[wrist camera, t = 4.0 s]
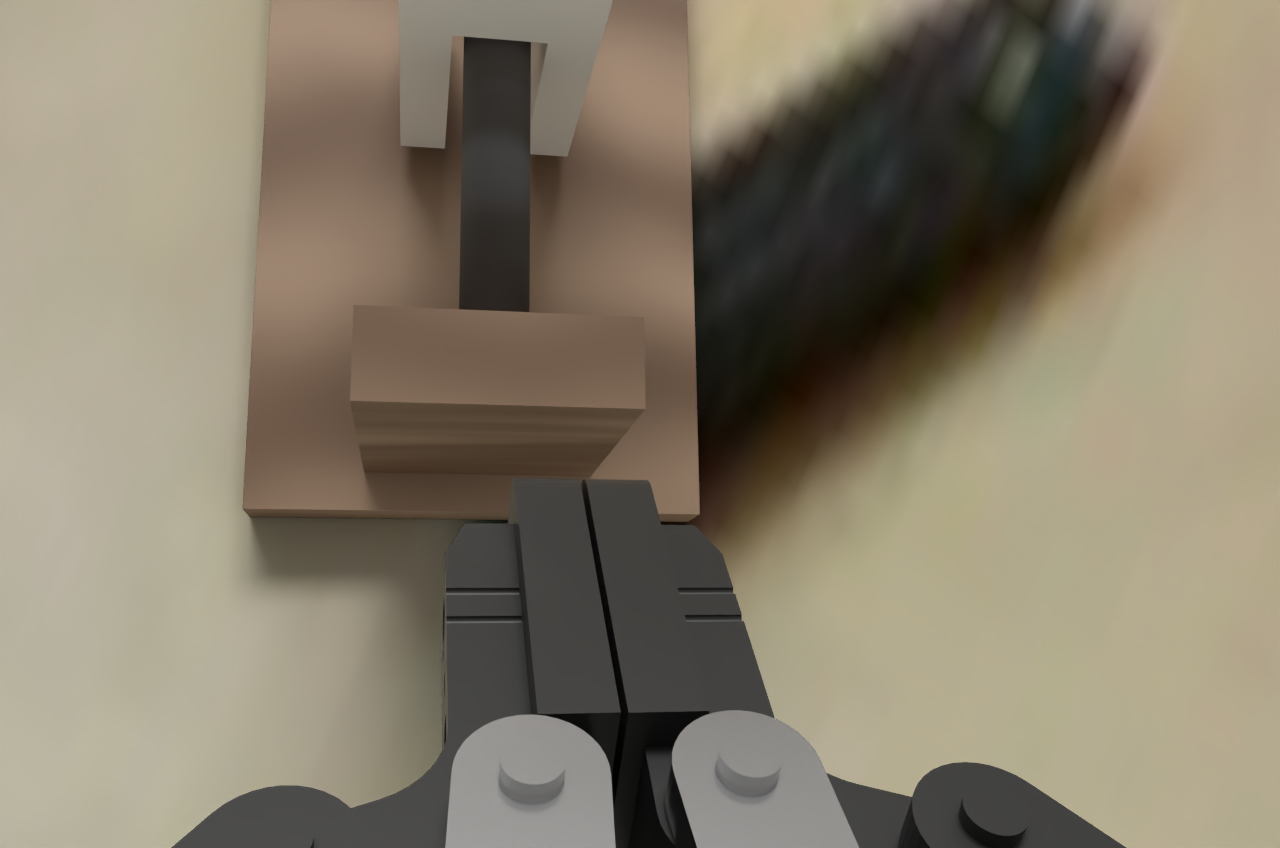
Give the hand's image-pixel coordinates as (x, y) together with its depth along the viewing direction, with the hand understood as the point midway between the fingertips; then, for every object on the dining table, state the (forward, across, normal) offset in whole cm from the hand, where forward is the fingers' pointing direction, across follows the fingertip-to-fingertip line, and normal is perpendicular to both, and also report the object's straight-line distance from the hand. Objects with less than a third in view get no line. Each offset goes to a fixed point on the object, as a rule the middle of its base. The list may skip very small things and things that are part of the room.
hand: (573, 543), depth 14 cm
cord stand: (+28, 0, -1) cm, 28 cm away
